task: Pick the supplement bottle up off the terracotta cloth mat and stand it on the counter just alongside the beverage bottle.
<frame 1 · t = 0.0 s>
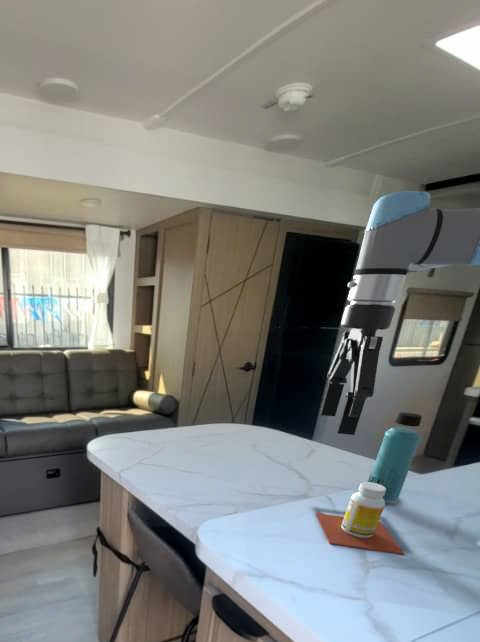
hand: (335, 424, 79), 18 cm above the table, tool pointing down, fingers open, 13 cm apart
beverage bottle: (377, 502, 90), on the table
supplement bottle: (356, 532, 78), resting on cloth
cloth: (356, 533, 78), on the table
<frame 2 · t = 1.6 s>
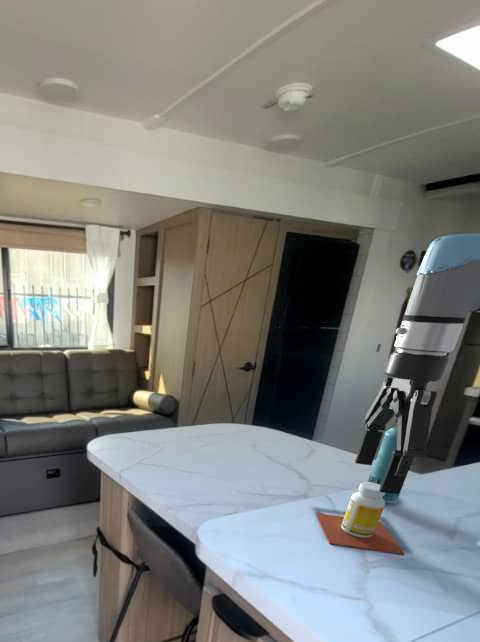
hand: (374, 477, 73), 12 cm above the table, tool pointing down, fingers open, 13 cm apart
nothing on the table moved.
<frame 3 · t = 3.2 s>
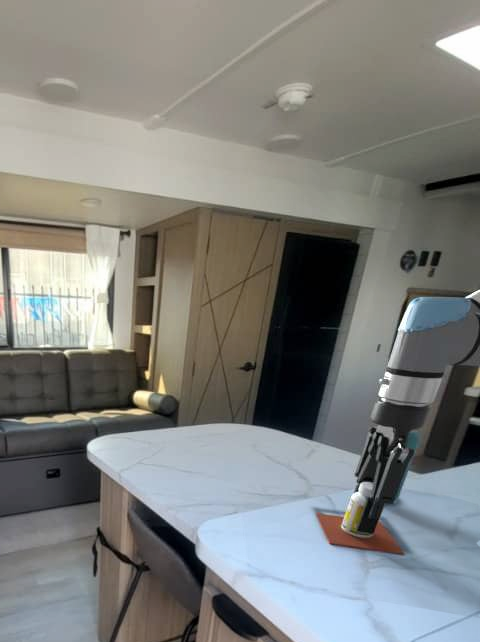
hand: (359, 523, 77), 2 cm above the table, tool pointing down, fingers closed on supplement bottle, 5 cm apart
supplement bottle: (356, 532, 78), resting on cloth, touching gripper
everything else where it was.
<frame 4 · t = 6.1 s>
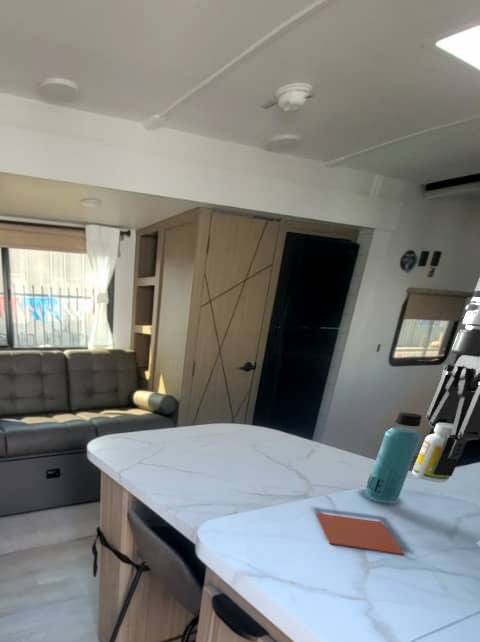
hand: (433, 468, 73), 13 cm above the table, tool pointing down, fingers closed on supplement bottle, 5 cm apart
supplement bottle: (428, 478, 73), point 11 cm above the table, touching gripper
everything else where it was.
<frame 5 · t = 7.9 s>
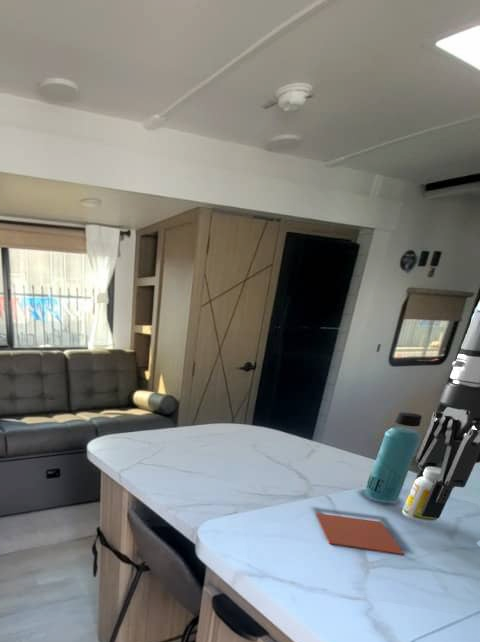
hand: (422, 508, 76), 5 cm above the table, tool pointing down, fingers closed on supplement bottle, 5 cm apart
supplement bottle: (418, 517, 77), point 3 cm above the table, touching gripper
everything else where it was.
when the fingers open (2 cm above the table, at t = 9.1 s): supplement bottle stays where it is, on the table.
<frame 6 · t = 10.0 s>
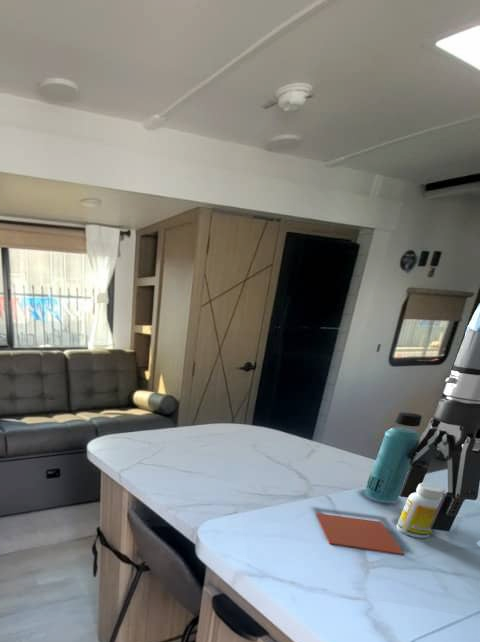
hand: (421, 512, 77), 4 cm above the table, tool pointing down, fingers open, 13 cm apart
supplement bottle: (412, 532, 79), on the table
everything else where it was.
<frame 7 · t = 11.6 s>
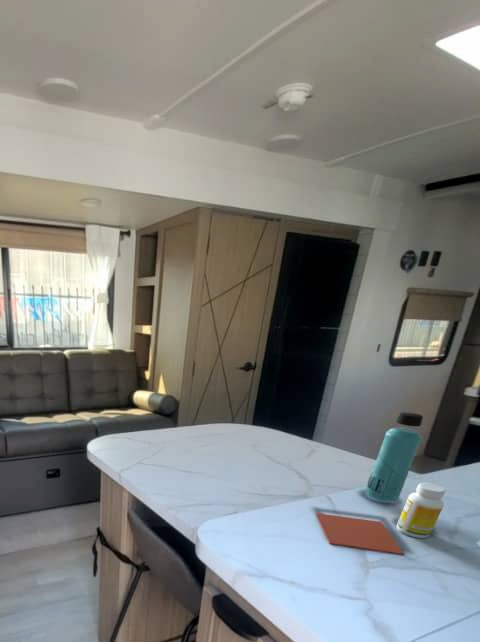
nothing on the table moved.
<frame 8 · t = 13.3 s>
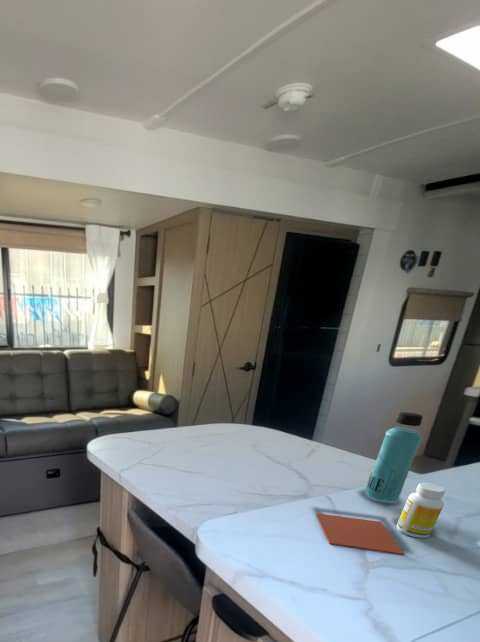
nothing on the table moved.
at the end: supplement bottle inside the target area (0.1 cm from its centre), on the table; supplement bottle tilted 0°; supplement bottle touching table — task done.
